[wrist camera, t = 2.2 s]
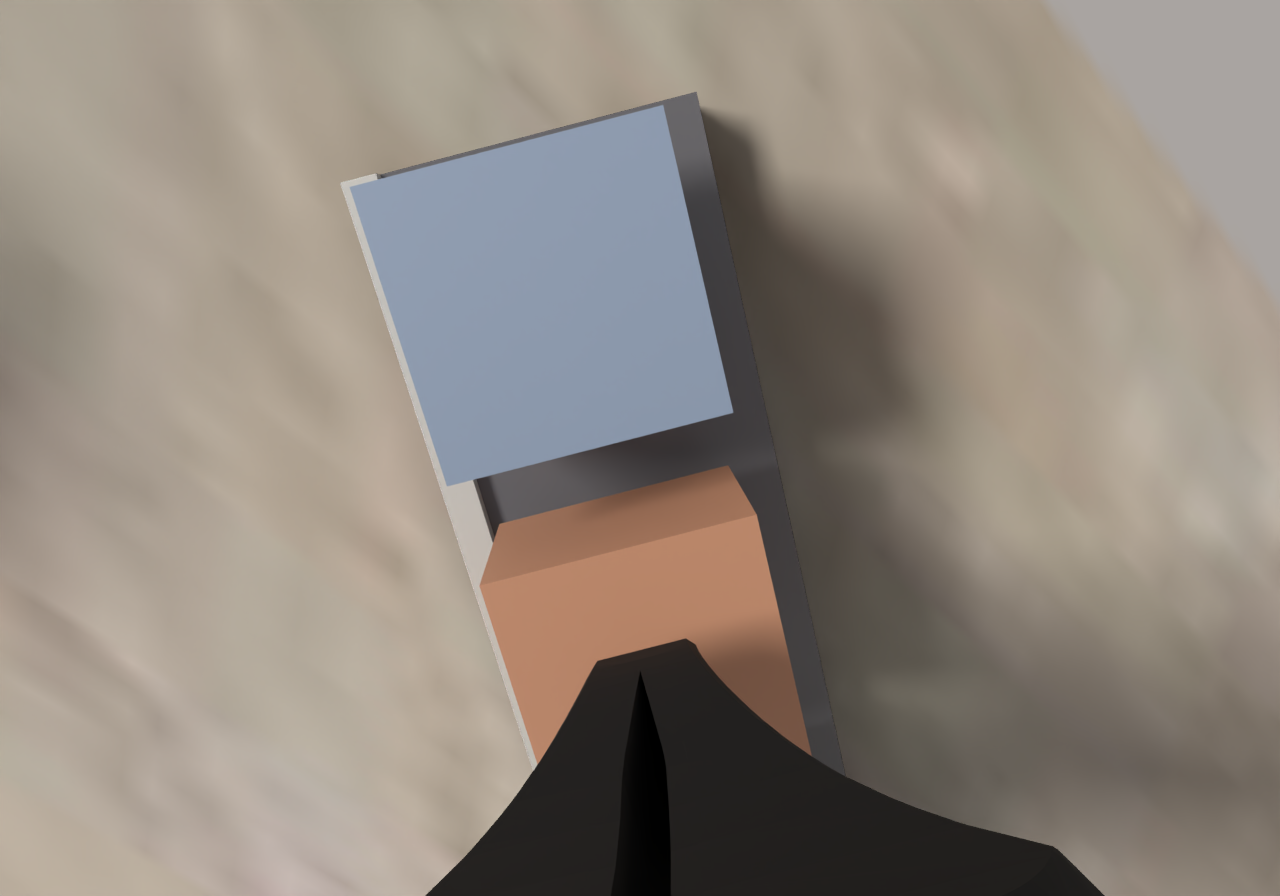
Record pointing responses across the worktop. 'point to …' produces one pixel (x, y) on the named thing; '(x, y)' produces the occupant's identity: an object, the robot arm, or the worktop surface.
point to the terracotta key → (639, 597)
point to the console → (654, 436)
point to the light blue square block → (547, 295)
